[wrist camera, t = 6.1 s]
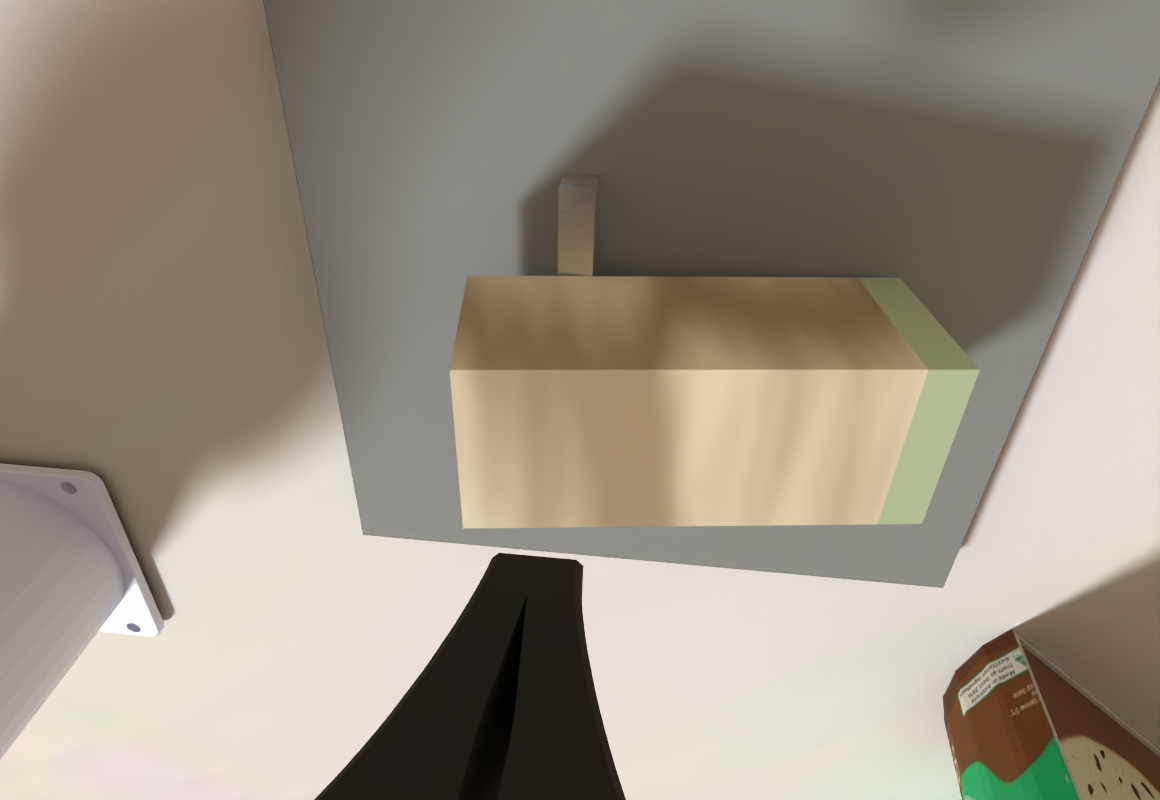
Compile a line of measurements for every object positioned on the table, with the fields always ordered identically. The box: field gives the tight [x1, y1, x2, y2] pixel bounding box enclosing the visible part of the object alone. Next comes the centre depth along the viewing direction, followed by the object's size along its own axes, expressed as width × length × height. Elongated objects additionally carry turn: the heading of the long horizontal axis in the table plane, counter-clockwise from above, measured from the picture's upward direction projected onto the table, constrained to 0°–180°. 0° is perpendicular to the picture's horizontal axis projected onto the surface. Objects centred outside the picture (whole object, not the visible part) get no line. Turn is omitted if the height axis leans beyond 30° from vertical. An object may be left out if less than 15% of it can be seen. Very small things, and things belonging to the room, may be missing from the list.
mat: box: [263, 0, 1160, 588], centre depth 19 cm, size 18×16×2 cm
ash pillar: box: [450, 276, 980, 529], centre depth 17 cm, size 4×4×10 cm
